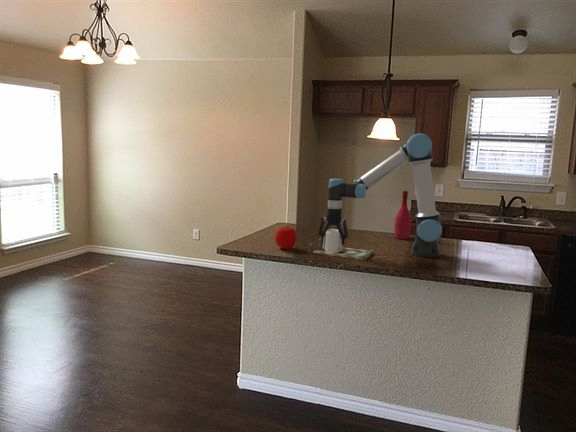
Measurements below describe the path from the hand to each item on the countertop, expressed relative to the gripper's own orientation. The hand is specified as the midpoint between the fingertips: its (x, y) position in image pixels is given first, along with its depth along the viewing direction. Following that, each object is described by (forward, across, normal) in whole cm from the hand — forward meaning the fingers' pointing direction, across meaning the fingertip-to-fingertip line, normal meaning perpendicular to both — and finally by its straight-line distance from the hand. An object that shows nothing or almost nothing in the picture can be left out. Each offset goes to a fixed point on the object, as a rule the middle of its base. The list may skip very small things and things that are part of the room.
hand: (332, 249), depth 252 cm
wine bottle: (+2, -27, -58) cm, 64 cm away
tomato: (+2, +25, +6) cm, 26 cm away
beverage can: (+2, 0, 0) cm, 2 cm away
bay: (+1, -5, 0) cm, 5 cm away
